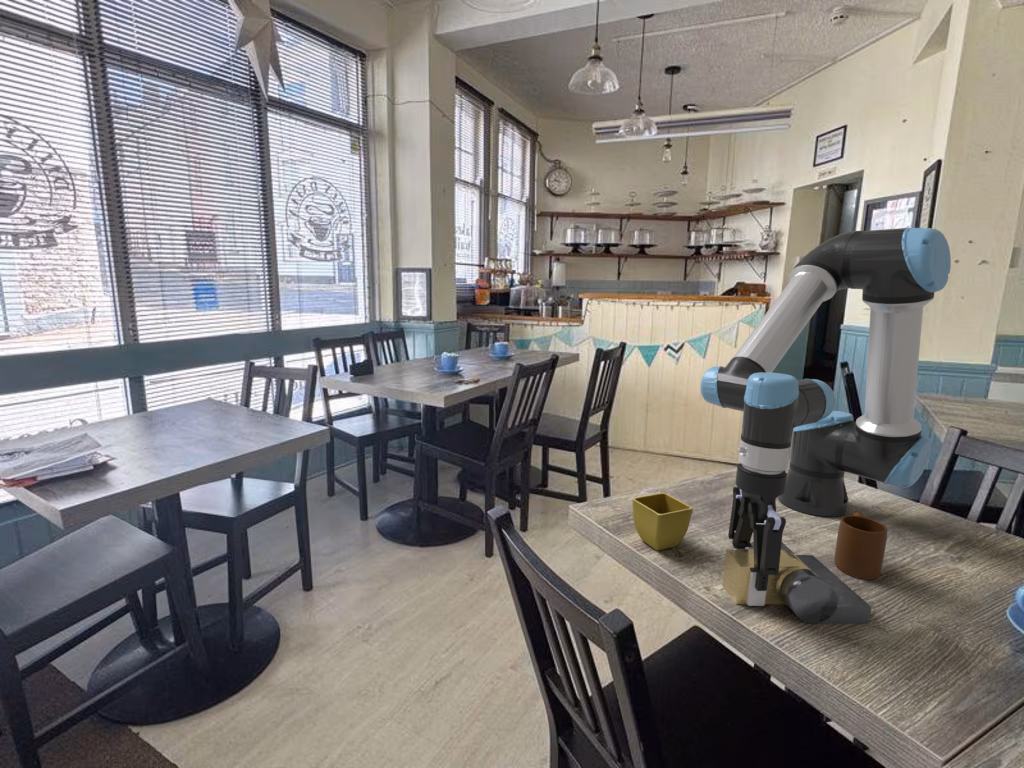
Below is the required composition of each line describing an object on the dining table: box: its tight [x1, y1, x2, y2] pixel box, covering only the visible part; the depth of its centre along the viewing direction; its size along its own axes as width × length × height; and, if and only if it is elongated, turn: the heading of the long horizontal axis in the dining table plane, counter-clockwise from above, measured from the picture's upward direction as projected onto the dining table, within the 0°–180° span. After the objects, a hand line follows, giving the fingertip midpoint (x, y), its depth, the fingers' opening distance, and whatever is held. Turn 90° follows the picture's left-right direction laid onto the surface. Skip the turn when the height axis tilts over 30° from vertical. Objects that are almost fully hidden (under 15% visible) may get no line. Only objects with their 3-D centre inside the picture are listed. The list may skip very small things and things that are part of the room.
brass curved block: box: [722, 549, 812, 605], centre depth 92 cm, size 14×6×7 cm, turn 92°
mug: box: [833, 511, 888, 580], centre depth 103 cm, size 12×8×9 cm, turn 154°
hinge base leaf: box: [748, 541, 872, 625], centre depth 93 cm, size 12×16×7 cm
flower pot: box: [631, 492, 694, 551], centre depth 109 cm, size 9×9×9 cm
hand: (746, 593), depth 93 cm, fingers closed on brass curved block, 6 cm apart
